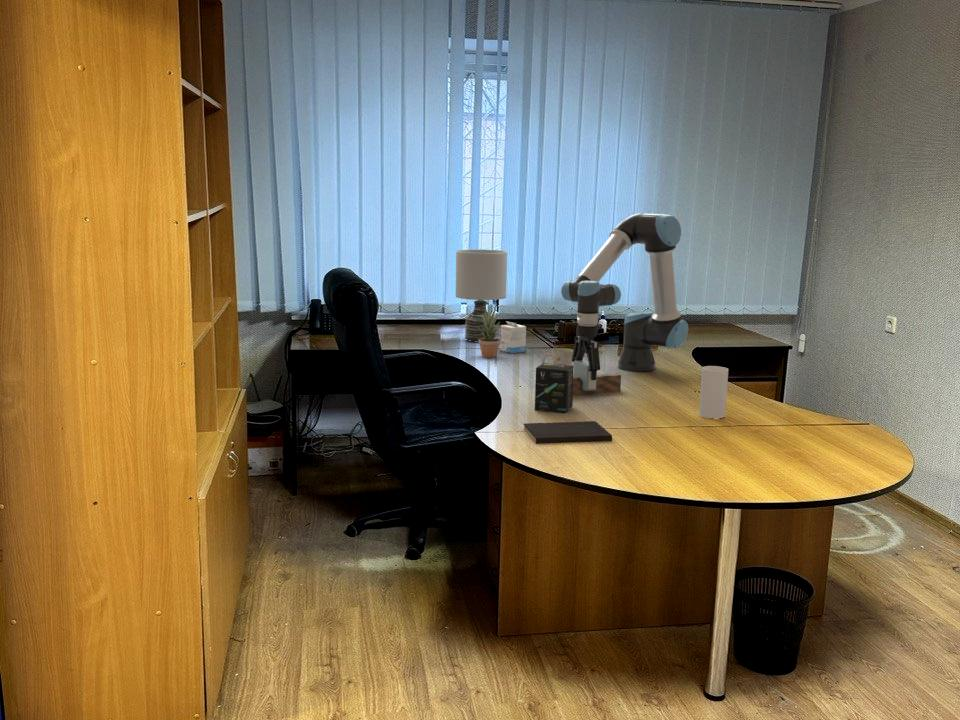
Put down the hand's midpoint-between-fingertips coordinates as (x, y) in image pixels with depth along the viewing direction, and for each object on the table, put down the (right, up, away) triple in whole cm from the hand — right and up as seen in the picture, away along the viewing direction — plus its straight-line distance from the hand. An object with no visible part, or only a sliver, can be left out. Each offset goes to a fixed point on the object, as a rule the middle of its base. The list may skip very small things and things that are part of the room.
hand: (584, 385), depth 320 cm
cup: (+38, -10, -29) cm, 49 cm away
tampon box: (-13, -7, -23) cm, 28 cm away
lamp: (-38, +18, +105) cm, 113 cm away
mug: (-8, +3, +30) cm, 31 cm away
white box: (-23, +13, +78) cm, 82 cm away
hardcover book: (-12, -14, -54) cm, 57 cm away
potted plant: (-34, +11, +65) cm, 74 cm away
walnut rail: (0, -3, 0) cm, 3 cm away
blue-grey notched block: (0, -1, 0) cm, 1 cm away
